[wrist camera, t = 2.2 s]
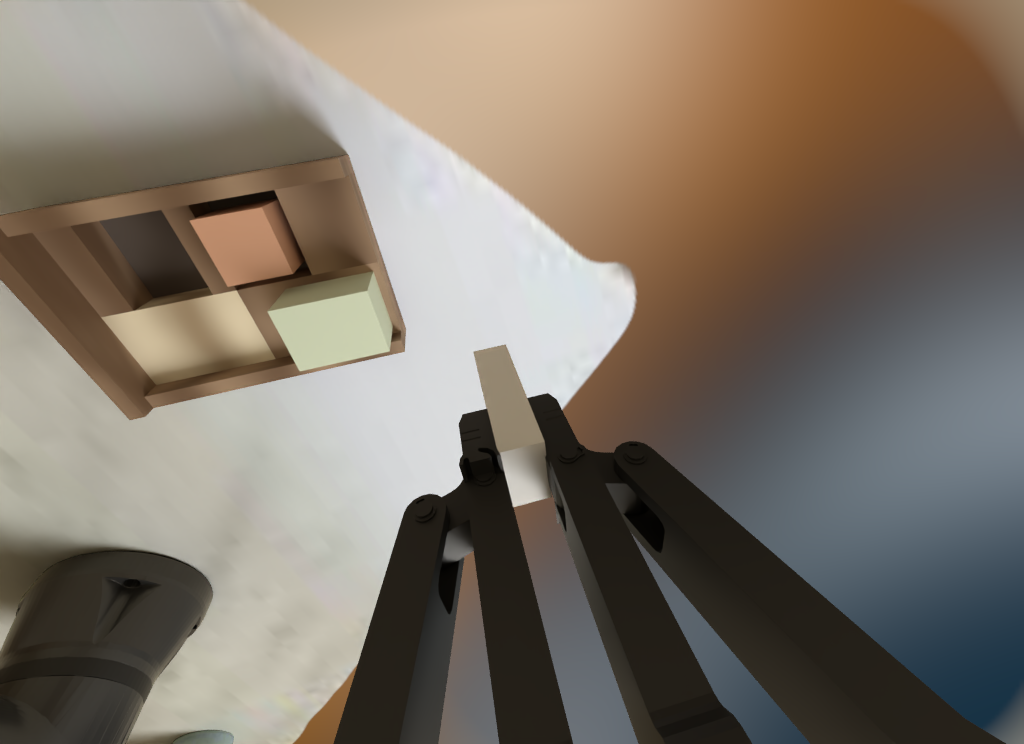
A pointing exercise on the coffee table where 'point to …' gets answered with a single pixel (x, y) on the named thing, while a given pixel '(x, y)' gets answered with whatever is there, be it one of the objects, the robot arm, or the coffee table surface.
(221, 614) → the coffee table surface
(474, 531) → the robot arm
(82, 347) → the wooden tray
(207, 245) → the rust block
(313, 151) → the coffee table surface
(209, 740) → the grey-blue cup
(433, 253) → the coffee table surface
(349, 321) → the sage block
